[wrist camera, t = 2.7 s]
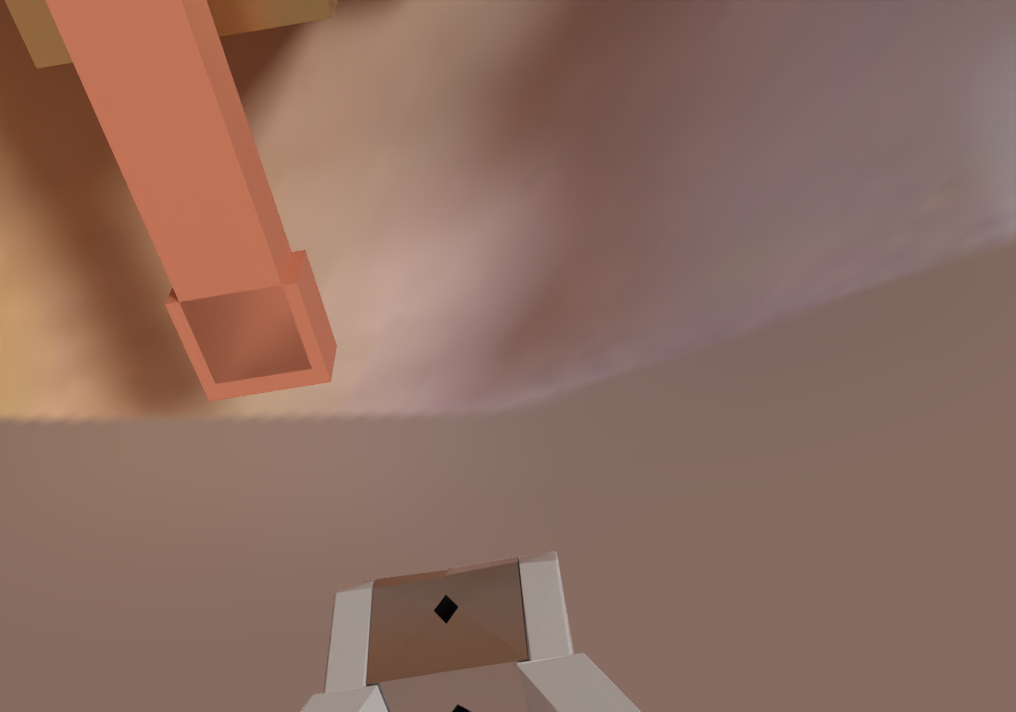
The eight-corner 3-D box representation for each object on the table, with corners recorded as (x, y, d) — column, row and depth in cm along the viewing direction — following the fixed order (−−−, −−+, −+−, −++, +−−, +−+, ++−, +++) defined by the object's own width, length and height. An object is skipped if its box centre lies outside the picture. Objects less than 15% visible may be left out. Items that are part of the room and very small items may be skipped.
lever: (143, -280, 15) (116, -282, 14) (344, 344, 23) (338, 380, 22) (-53, -244, 15) (-97, -242, 14) (214, 365, 24) (201, 402, 22)
